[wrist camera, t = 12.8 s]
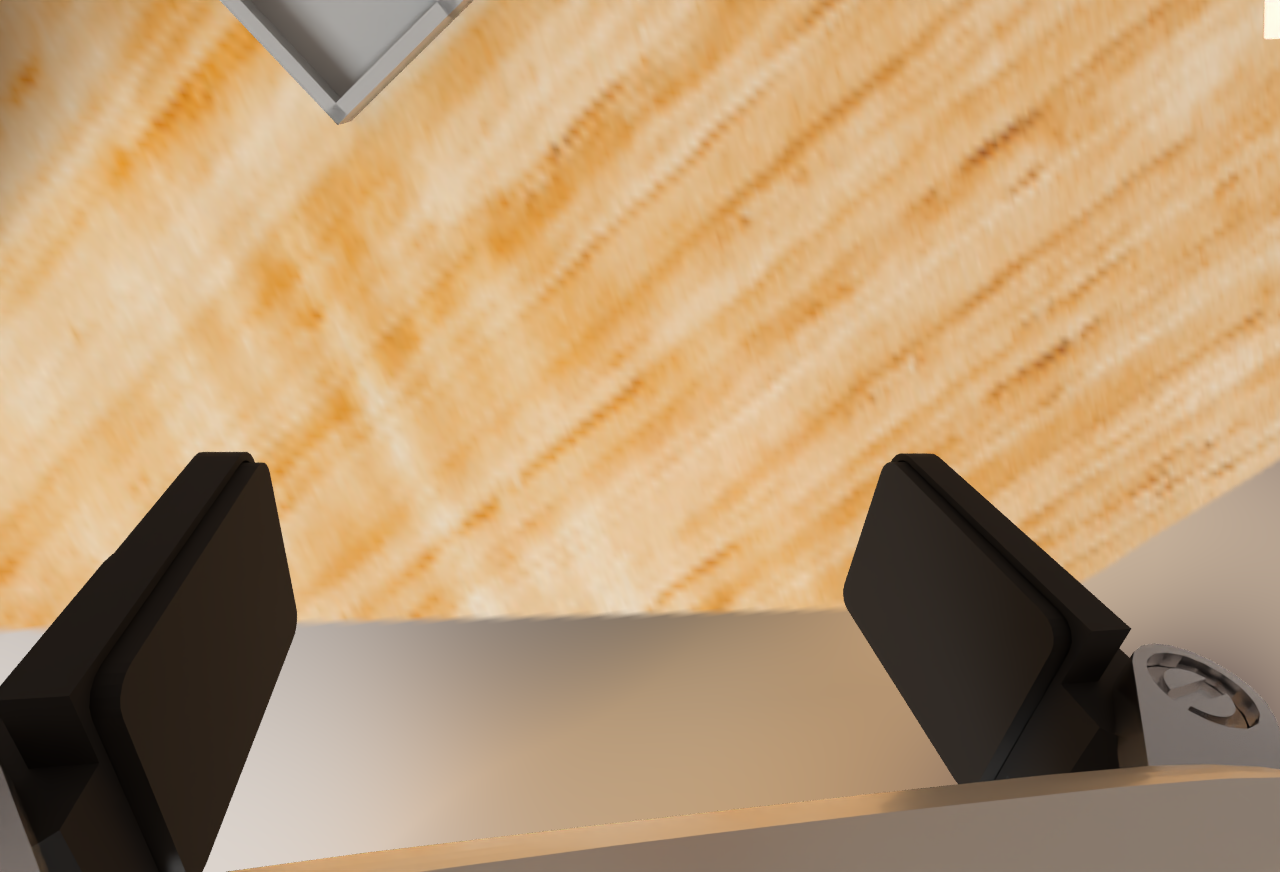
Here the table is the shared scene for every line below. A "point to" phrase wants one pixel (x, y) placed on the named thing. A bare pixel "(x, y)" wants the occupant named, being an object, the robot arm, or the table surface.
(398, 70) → the carton
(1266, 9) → the milk
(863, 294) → the table surface
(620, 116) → the table surface
